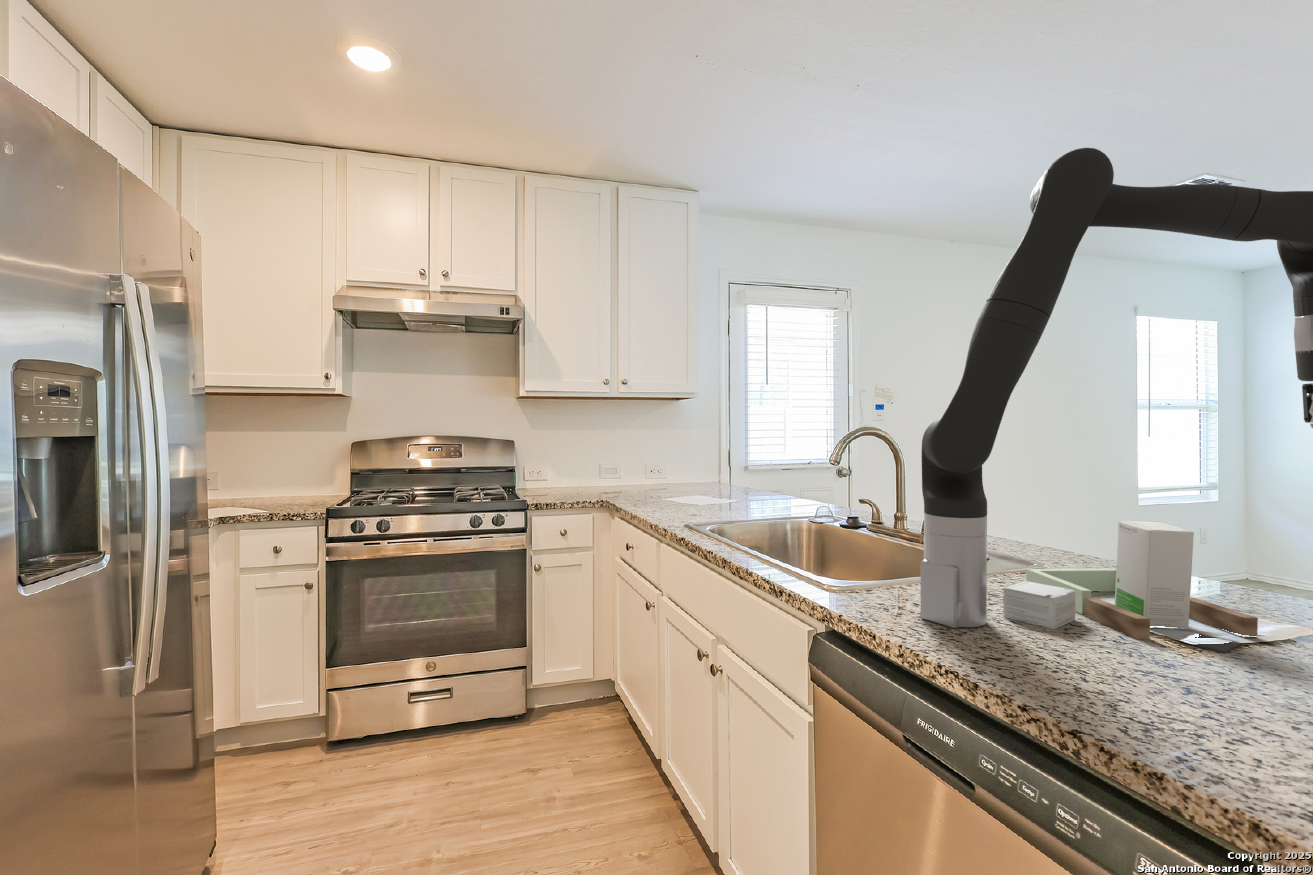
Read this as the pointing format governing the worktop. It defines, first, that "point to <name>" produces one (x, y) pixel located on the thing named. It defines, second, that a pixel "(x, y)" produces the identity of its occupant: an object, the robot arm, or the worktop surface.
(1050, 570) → the corral
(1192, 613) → the channel
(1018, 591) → the small box
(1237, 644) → the pit mat
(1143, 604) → the skincare box
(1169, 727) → the worktop surface
